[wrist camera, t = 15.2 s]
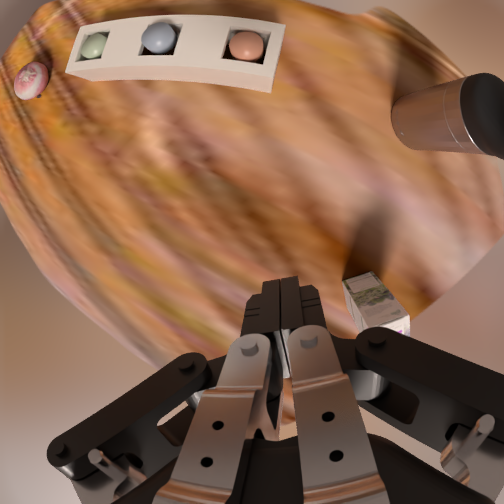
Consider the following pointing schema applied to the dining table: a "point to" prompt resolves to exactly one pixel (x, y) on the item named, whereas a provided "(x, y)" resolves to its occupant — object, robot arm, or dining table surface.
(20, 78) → the onion
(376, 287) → the syrup box
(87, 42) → the sage button
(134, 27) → the block
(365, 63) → the dining table surface
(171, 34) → the slate button
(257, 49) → the terracotta button
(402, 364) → the robot arm
